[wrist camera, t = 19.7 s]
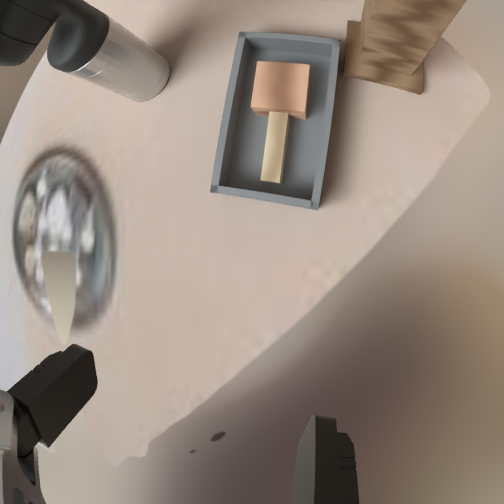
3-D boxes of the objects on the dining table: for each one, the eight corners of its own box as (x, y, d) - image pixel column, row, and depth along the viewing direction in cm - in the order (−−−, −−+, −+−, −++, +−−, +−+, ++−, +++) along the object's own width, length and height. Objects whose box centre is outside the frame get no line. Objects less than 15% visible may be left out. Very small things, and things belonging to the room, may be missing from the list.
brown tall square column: (342, 87, 37) (367, -86, 6) (347, 25, 34) (357, -137, 4) (419, 106, 35) (544, -8, 4) (419, 42, 32) (495, -88, 1)
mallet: (248, 179, 41) (241, 177, 37) (262, 72, 38) (257, 61, 34) (297, 186, 40) (295, 184, 36) (310, 76, 37) (309, 64, 33)
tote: (221, 192, 43) (210, 192, 39) (247, 46, 38) (239, 31, 34) (317, 209, 41) (317, 210, 36) (338, 55, 36) (340, 40, 31)
